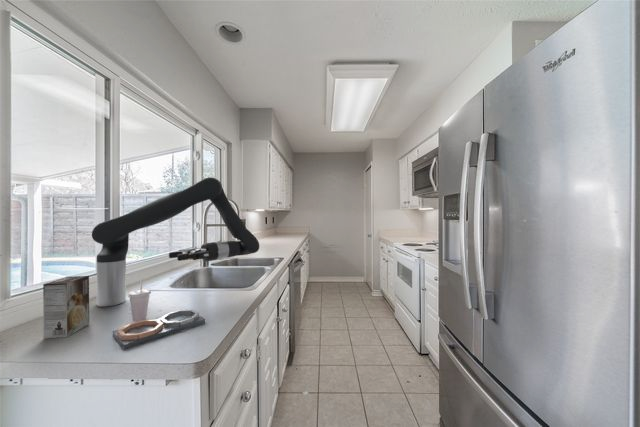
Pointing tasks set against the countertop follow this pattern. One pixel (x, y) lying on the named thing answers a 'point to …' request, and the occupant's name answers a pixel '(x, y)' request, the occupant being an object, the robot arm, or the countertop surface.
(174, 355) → the countertop surface
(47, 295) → the coffee box
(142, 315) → the smoothie
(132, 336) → the terracotta collar
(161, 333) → the dual ring board
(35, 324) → the countertop surface
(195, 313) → the grey collar
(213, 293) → the countertop surface
